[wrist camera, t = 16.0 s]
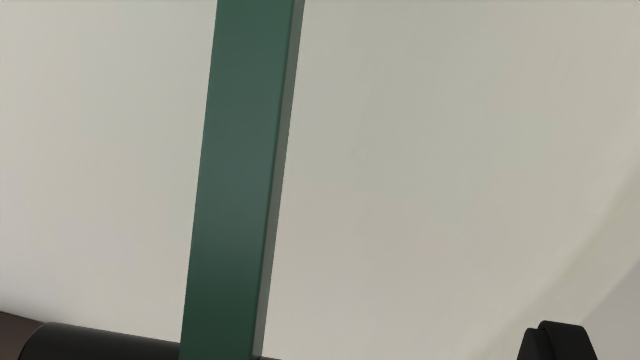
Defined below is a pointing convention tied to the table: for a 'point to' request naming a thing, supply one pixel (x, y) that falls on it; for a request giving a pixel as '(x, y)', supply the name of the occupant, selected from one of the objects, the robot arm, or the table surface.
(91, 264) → the table surface
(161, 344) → the lever
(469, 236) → the table surface
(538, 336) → the robot arm
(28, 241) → the table surface
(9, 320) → the panel
